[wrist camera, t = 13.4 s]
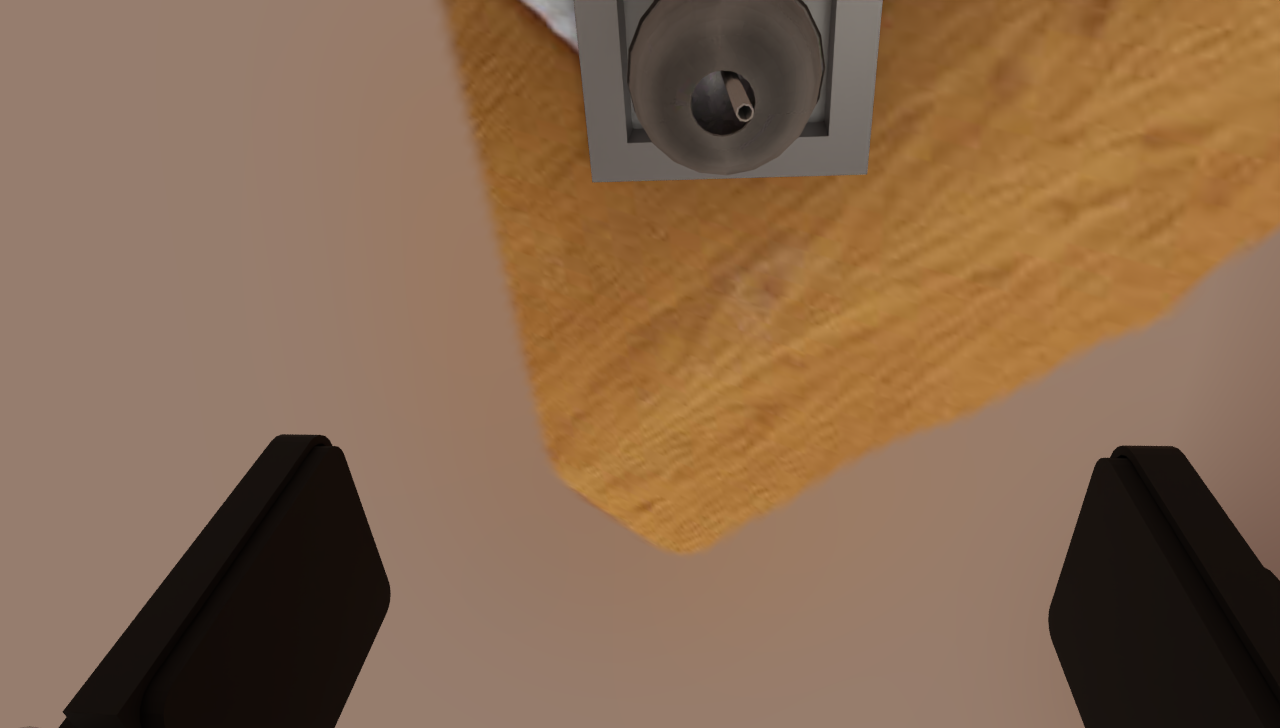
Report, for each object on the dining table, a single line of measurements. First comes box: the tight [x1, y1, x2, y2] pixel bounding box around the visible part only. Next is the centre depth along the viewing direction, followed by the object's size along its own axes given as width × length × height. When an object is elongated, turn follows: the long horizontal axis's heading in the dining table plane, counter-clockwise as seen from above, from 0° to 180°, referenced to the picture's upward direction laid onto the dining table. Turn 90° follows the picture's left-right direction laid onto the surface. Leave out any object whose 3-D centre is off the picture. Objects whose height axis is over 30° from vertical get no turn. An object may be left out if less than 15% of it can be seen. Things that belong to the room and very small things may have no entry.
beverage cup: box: [627, 0, 825, 175], centre depth 31 cm, size 7×7×20 cm
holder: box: [574, 0, 883, 182], centre depth 39 cm, size 14×14×3 cm
